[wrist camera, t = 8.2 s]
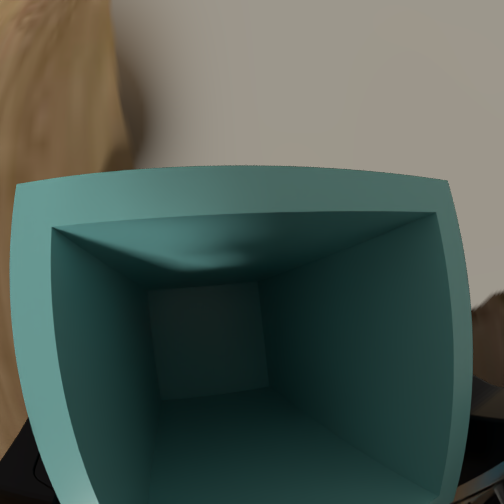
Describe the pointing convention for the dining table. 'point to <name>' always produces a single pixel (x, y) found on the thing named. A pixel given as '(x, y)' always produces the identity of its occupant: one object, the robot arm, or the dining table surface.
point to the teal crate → (243, 335)
